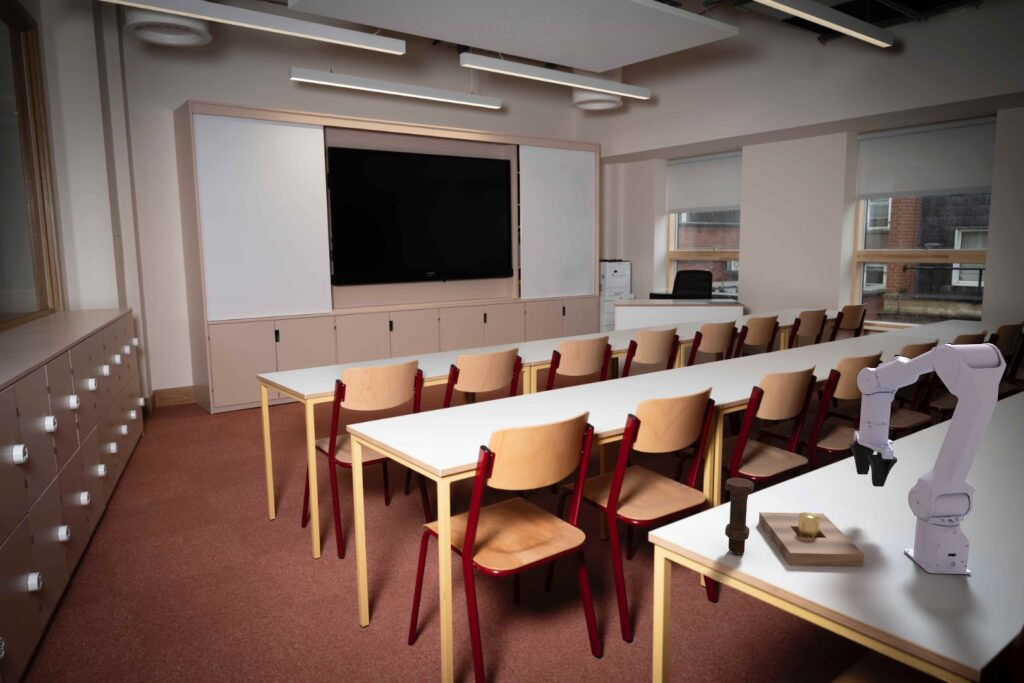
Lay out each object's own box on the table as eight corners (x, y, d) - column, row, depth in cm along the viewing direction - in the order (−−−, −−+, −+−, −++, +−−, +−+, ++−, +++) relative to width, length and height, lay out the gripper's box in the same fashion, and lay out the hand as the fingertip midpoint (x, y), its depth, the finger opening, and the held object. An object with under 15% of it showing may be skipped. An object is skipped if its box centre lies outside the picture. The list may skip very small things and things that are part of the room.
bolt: (745, 546, 142) (749, 477, 139) (755, 557, 137) (758, 486, 134) (718, 547, 141) (721, 477, 139) (726, 558, 136) (729, 486, 134)
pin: (821, 543, 143) (823, 516, 142) (812, 549, 140) (814, 521, 139) (803, 537, 146) (804, 510, 145) (793, 542, 143) (795, 515, 142)
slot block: (863, 566, 133) (864, 554, 132) (789, 565, 134) (790, 553, 133) (822, 524, 153) (823, 513, 152) (758, 522, 153) (759, 512, 153)
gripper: (910, 430, 144) (904, 492, 146) (877, 413, 158) (873, 469, 160) (876, 430, 144) (871, 491, 146) (846, 412, 159) (842, 468, 161)
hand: (870, 479), depth 153 cm, fingers open, 7 cm apart
